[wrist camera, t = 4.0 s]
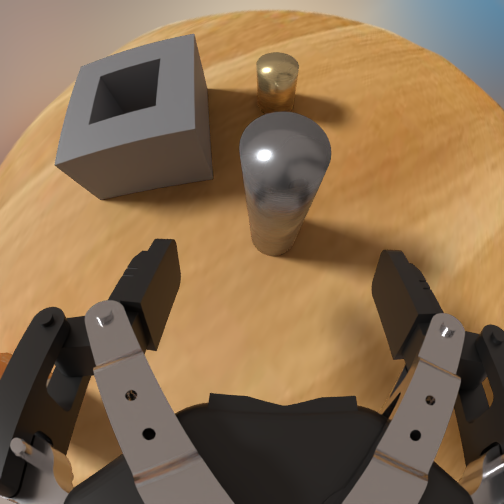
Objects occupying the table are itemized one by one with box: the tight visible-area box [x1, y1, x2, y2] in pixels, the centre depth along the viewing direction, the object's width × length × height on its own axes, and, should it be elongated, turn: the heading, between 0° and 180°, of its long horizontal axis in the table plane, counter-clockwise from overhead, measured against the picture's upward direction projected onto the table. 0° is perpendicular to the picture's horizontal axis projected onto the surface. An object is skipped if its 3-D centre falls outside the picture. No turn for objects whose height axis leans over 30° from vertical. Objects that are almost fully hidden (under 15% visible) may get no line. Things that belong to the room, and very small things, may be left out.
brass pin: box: [257, 52, 299, 114], centre depth 21 cm, size 3×3×5 cm
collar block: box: [55, 34, 213, 200], centre depth 20 cm, size 10×10×7 cm
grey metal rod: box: [239, 112, 331, 256], centre depth 16 cm, size 3×3×12 cm
